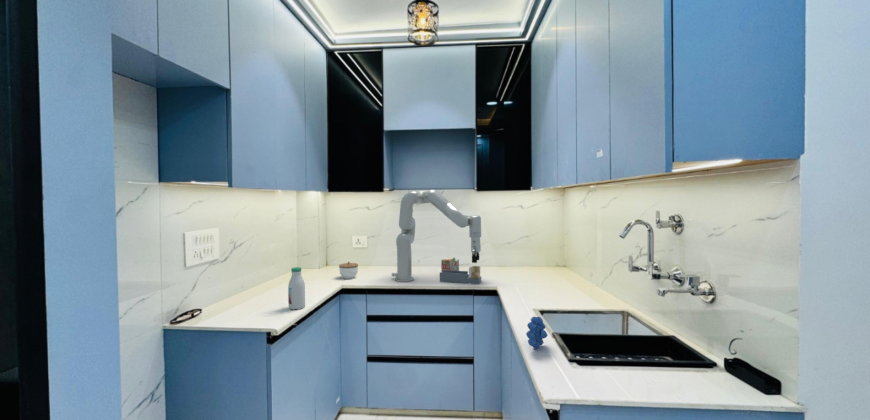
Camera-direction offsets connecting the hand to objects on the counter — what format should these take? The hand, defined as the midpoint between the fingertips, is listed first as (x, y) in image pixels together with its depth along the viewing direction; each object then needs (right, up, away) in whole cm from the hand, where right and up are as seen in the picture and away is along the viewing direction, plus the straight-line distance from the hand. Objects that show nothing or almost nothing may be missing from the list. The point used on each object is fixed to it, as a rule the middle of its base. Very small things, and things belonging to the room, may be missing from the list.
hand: (475, 261), depth 227 cm
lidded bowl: (-85, -14, +15) cm, 87 cm away
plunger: (-7, -10, +2) cm, 13 cm away
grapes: (+11, -17, -100) cm, 102 cm away
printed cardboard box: (-15, -13, +25) cm, 32 cm away
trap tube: (-10, -14, +3) cm, 17 cm away
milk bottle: (-95, -16, -51) cm, 109 cm away
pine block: (0, -11, 0) cm, 11 cm away
